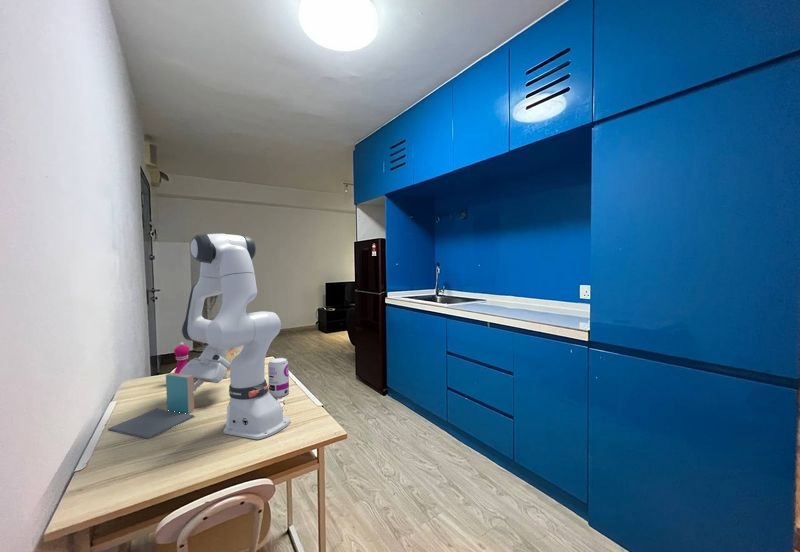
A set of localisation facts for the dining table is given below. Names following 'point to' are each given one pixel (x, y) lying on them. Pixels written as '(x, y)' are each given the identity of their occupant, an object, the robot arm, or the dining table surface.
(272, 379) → the supplement can
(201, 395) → the dining table surface
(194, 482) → the dining table surface
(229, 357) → the coffeecake box
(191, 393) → the tile
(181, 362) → the pepper mill
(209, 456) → the dining table surface
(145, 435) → the mat
